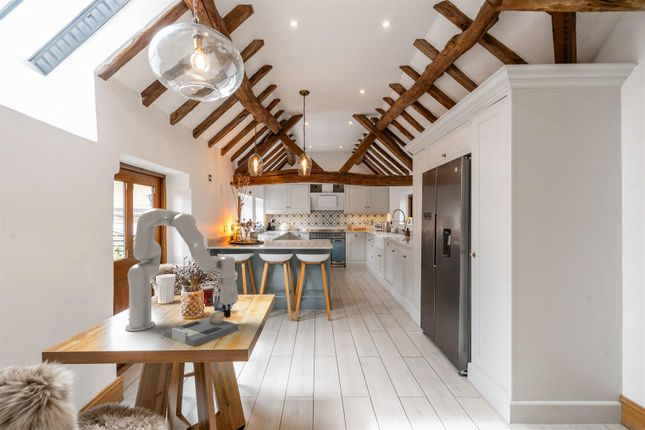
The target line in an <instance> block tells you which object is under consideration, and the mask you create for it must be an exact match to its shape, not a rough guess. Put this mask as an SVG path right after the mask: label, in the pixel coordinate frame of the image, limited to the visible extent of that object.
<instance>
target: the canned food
mask: <svg viewBox="0 0 645 430" xmlns="http://www.w3.org/2000/svg"><path fill="white" fill-rule="evenodd" d="M201 287H202V289H203V291H204V304H205V306H204V307H210V306H214V286H212V285H204V286H201Z"/></svg>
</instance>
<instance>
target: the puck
mask: <svg viewBox="0 0 645 430" xmlns="http://www.w3.org/2000/svg"><path fill="white" fill-rule="evenodd" d="M209 317H210V324H212V325H217V324H221V323H223V320H224V312H223V311H214V310H213V311H210V312H209Z"/></svg>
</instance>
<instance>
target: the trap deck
mask: <svg viewBox="0 0 645 430" xmlns="http://www.w3.org/2000/svg"><path fill="white" fill-rule="evenodd" d="M238 330H239V324H238V323H233V322H231V321H226V320H224V319H223V323H221V324H217V325H212V324H210V316H207V317H204V318H201V319H198V320H194V321H191V322H188V323H185V324H181V325H178V326H175V327H172V328H168V329H164V335H163V336H164V337H167V338H169V339H172V340H174V341H177V342H180V343H183V344H186V345H188V346H192V347H196V346H198V345H201V344H204V343H206V342H209V341H211V340H214V339H217V338H219V337H222V336H224V335H227V334H230V333H233V332H235V331H238Z"/></svg>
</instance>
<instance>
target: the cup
mask: <svg viewBox="0 0 645 430" xmlns="http://www.w3.org/2000/svg"><path fill="white" fill-rule="evenodd" d="M176 276H177V275H176V274H174V273H173V274H172V273H167V274H159V275H158V274H157V275H156V276H155V284H156V286H157V287H156V289H157V304H158V305H169V303H170V304H172V302H173V303H174V301H175V283H176Z"/></svg>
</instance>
